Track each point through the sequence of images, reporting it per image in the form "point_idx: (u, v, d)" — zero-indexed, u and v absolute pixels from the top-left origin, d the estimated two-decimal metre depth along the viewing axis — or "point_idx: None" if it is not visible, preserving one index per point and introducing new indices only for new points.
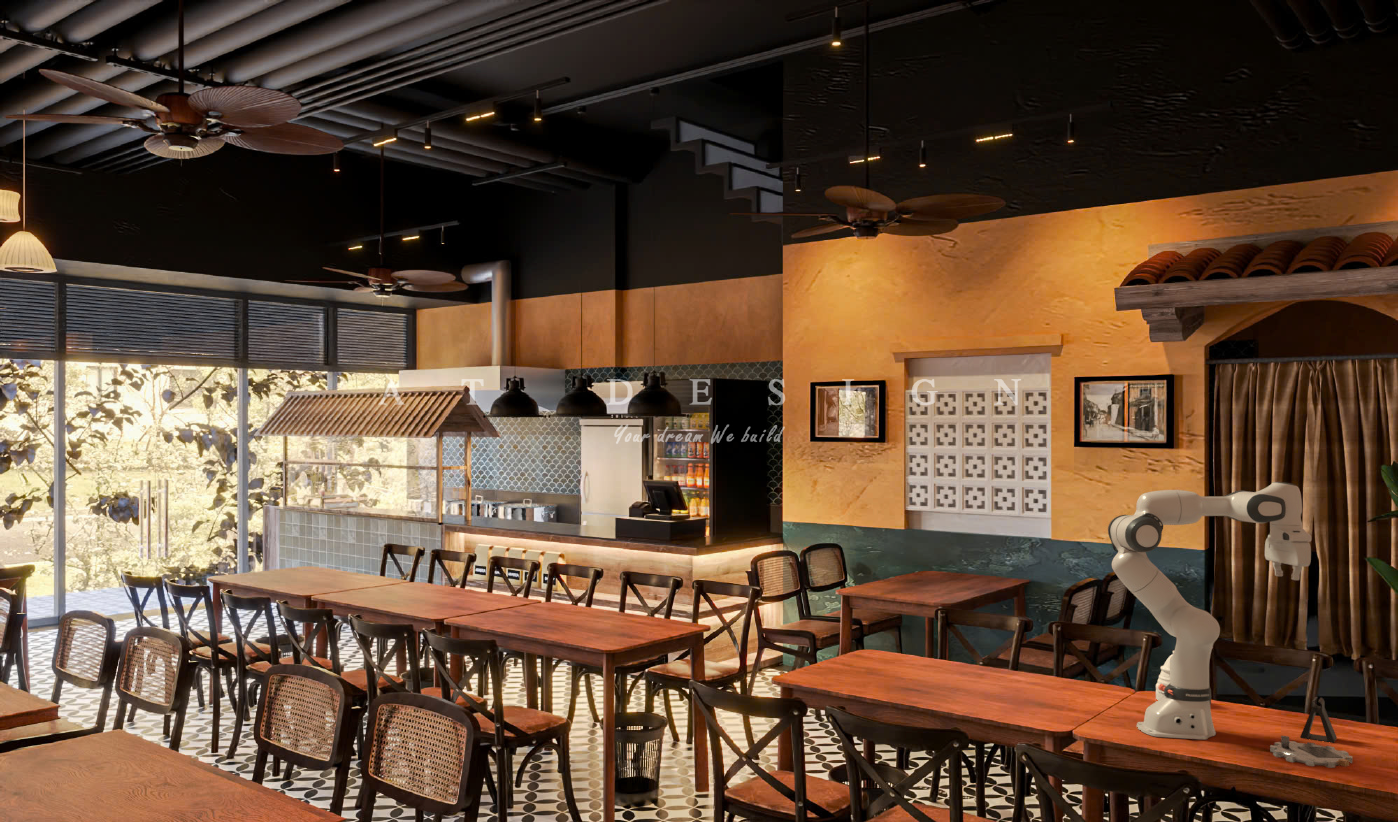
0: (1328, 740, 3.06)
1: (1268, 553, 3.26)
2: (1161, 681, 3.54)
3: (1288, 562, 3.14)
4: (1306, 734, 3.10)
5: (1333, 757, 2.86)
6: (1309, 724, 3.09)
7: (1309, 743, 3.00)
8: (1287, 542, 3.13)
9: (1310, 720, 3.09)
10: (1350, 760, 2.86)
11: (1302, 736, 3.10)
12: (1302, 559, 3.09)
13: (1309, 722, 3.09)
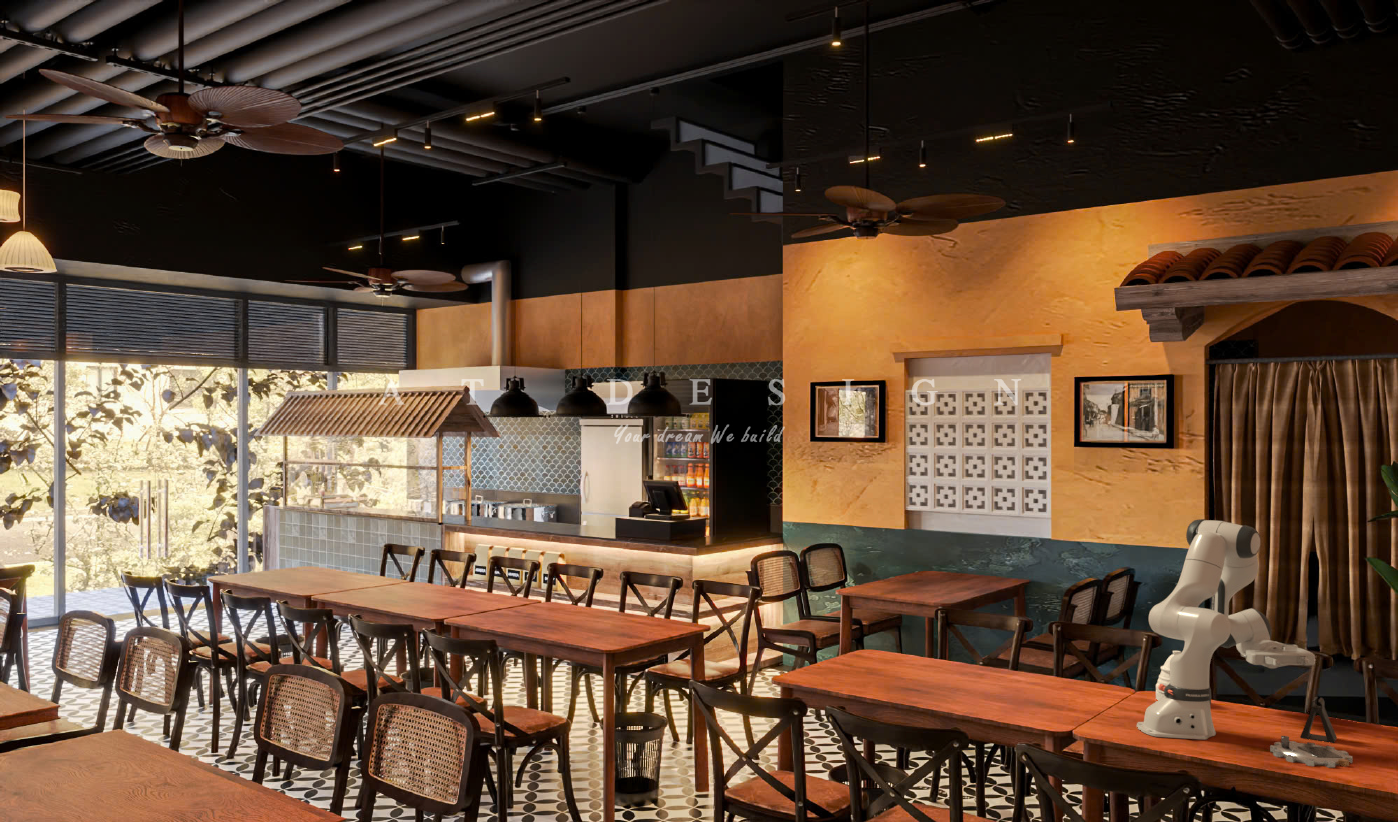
0: (1328, 740, 3.06)
1: (1257, 652, 3.32)
2: (1161, 681, 3.54)
3: (1297, 653, 3.30)
4: (1306, 734, 3.10)
5: (1333, 757, 2.86)
6: (1309, 724, 3.09)
7: (1309, 743, 3.00)
8: (1290, 647, 3.36)
9: (1310, 720, 3.09)
10: (1350, 760, 2.86)
11: (1302, 736, 3.10)
12: None
13: (1309, 722, 3.09)
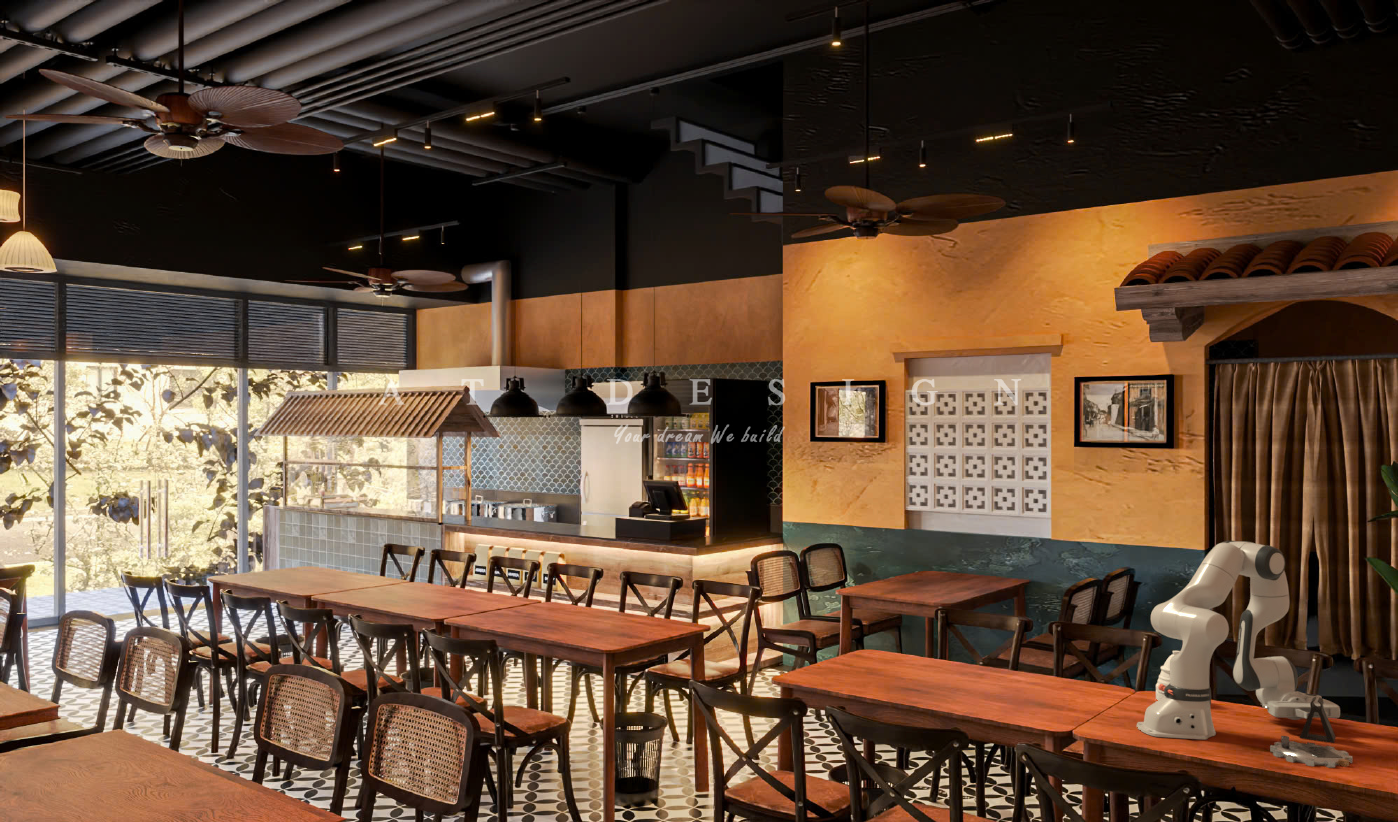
0: (1328, 740, 3.06)
1: (1280, 704, 3.18)
2: (1161, 681, 3.54)
3: None
4: (1306, 734, 3.10)
5: (1333, 757, 2.86)
6: (1309, 724, 3.09)
7: (1309, 743, 3.00)
8: None
9: (1310, 720, 3.09)
10: (1350, 760, 2.86)
11: (1301, 736, 3.10)
12: None
13: (1309, 722, 3.09)
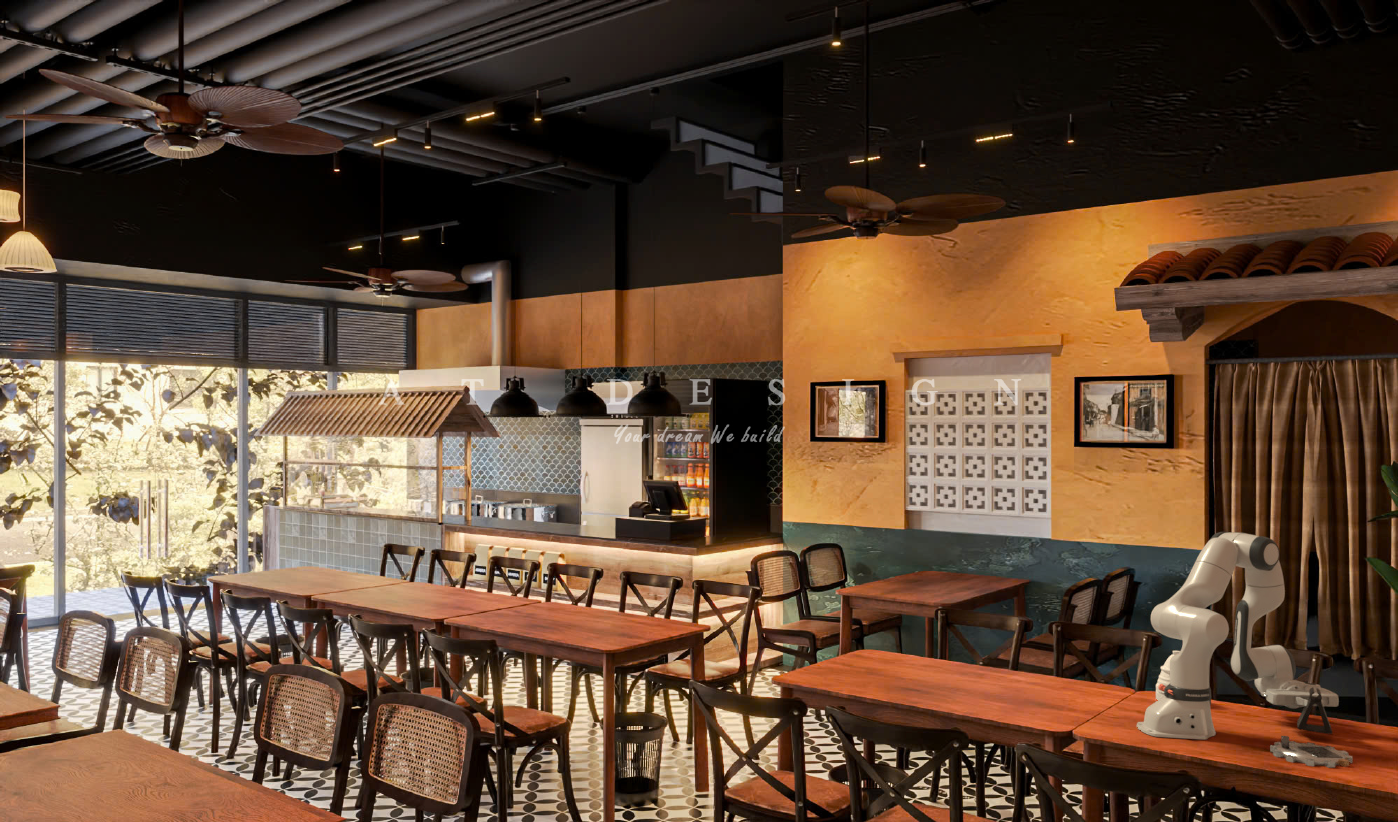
0: (1326, 731, 3.06)
1: (1279, 692, 3.18)
2: (1161, 681, 3.54)
3: None
4: (1304, 725, 3.09)
5: (1333, 757, 2.86)
6: (1307, 715, 3.09)
7: (1309, 743, 3.00)
8: (1313, 686, 3.23)
9: (1309, 711, 3.08)
10: (1350, 760, 2.86)
11: (1300, 727, 3.10)
12: None
13: (1307, 713, 3.09)
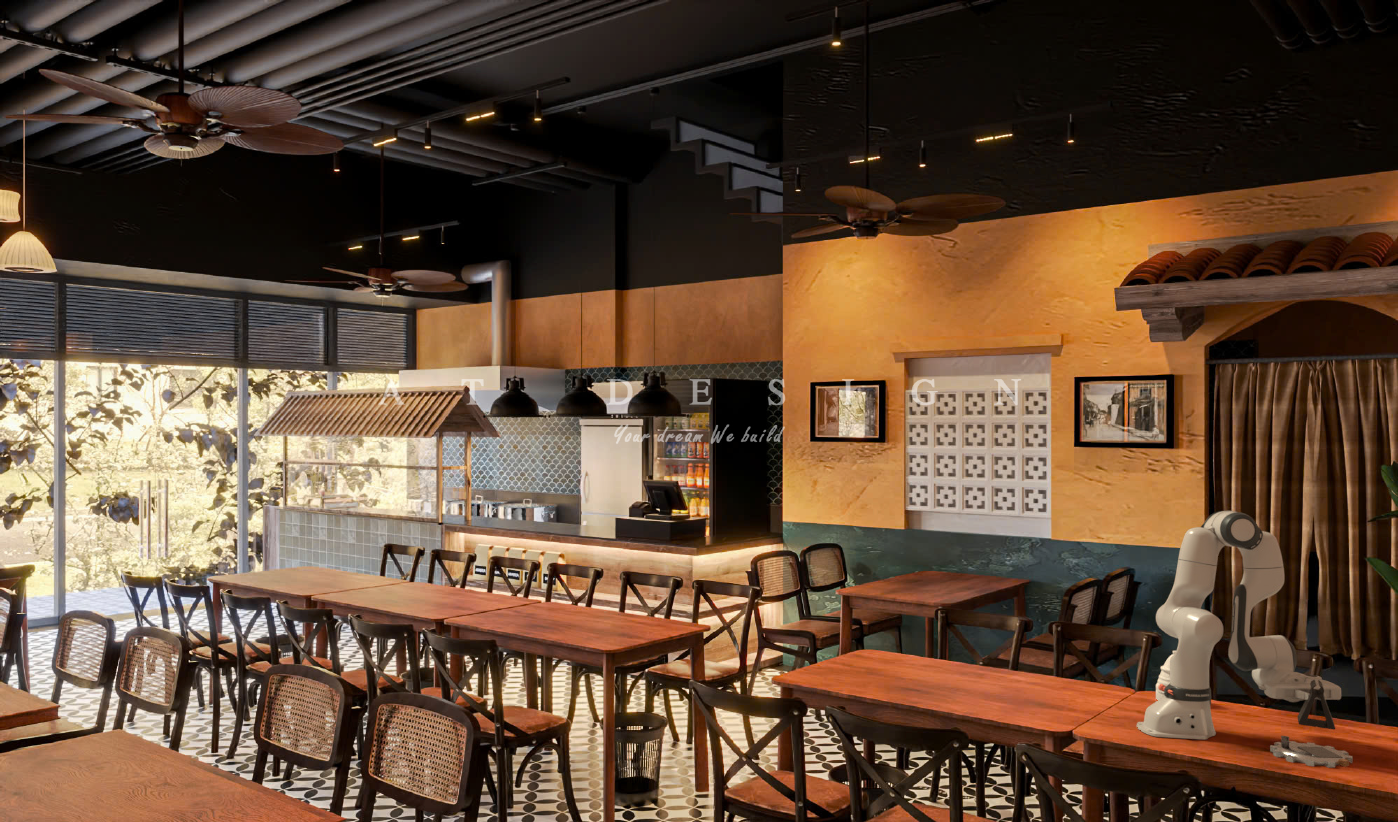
0: (1328, 726, 2.88)
1: (1278, 685, 2.99)
2: (1161, 681, 3.54)
3: None
4: (1305, 720, 2.90)
5: (1333, 757, 2.86)
6: (1309, 710, 2.90)
7: (1309, 743, 3.00)
8: (1313, 678, 3.04)
9: (1310, 706, 2.89)
10: (1350, 760, 2.86)
11: (1300, 722, 2.91)
12: None
13: (1309, 708, 2.90)
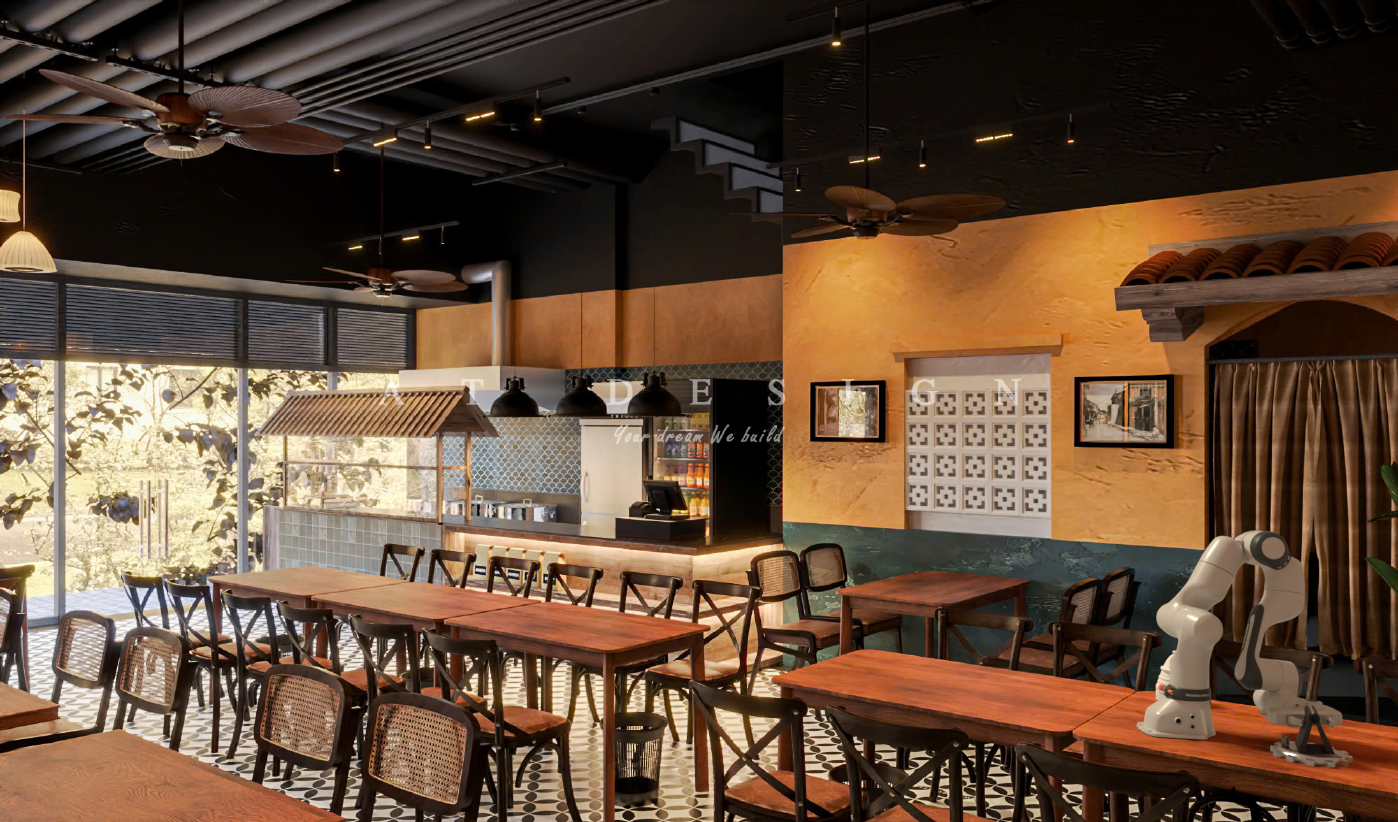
0: (1328, 752, 2.87)
1: (1278, 711, 2.99)
2: (1161, 681, 3.54)
3: (1322, 712, 2.97)
4: (1304, 748, 2.89)
5: (1333, 757, 2.86)
6: (1307, 738, 2.89)
7: (1309, 743, 3.00)
8: (1314, 704, 3.03)
9: (1308, 734, 2.89)
10: (1350, 760, 2.86)
11: (1300, 751, 2.90)
12: None
13: (1307, 736, 2.89)
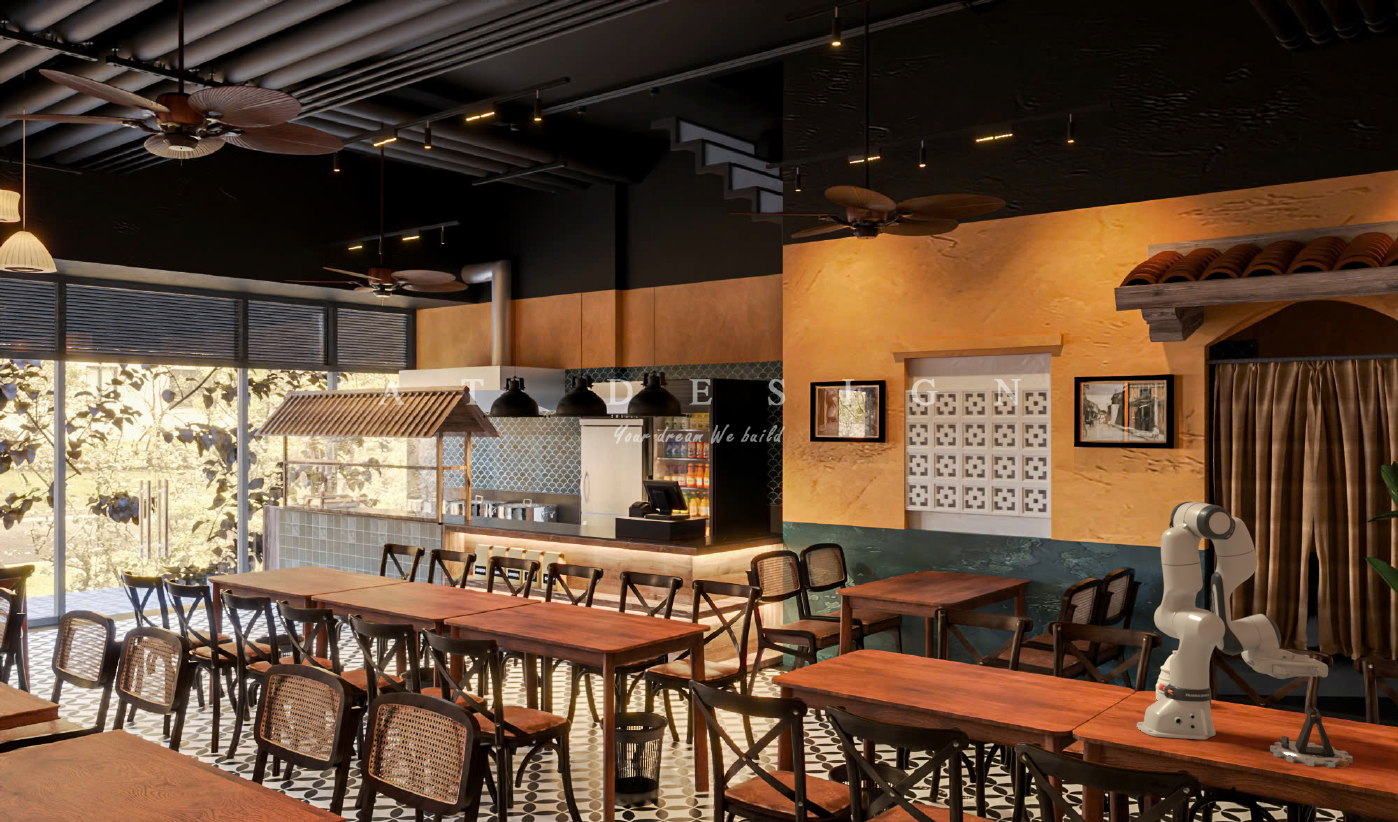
0: (1328, 753, 2.87)
1: (1266, 660, 3.05)
2: (1161, 681, 3.54)
3: (1308, 663, 3.03)
4: (1305, 748, 2.90)
5: (1333, 757, 2.86)
6: (1308, 737, 2.89)
7: (1309, 743, 3.00)
8: (1301, 656, 3.10)
9: (1309, 733, 2.89)
10: (1350, 760, 2.86)
11: (1300, 750, 2.90)
12: None
13: (1308, 735, 2.89)
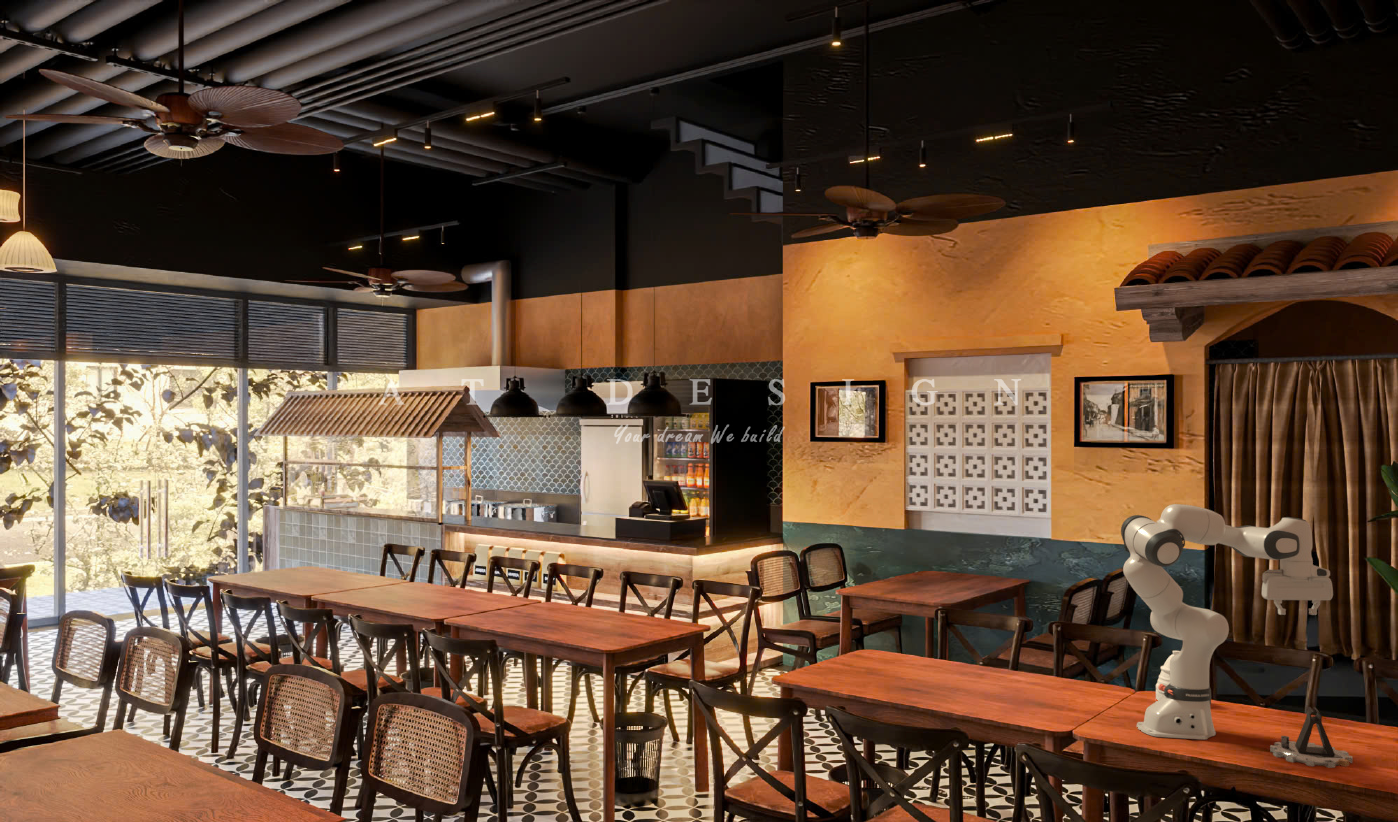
0: (1328, 753, 2.87)
1: (1275, 593, 3.14)
2: (1161, 681, 3.54)
3: (1314, 598, 3.13)
4: (1305, 748, 2.90)
5: (1333, 757, 2.86)
6: (1308, 737, 2.89)
7: (1309, 743, 3.00)
8: (1320, 578, 3.12)
9: (1309, 733, 2.89)
10: (1350, 760, 2.86)
11: (1300, 750, 2.90)
12: None
13: (1308, 735, 2.89)
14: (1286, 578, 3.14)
